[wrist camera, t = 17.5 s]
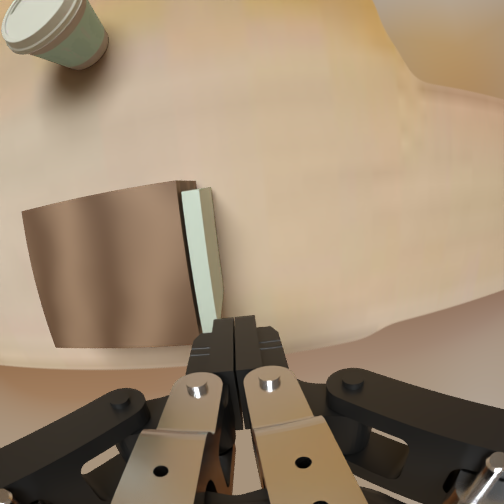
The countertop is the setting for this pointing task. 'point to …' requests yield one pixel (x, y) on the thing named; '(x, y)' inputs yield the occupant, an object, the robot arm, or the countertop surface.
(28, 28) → the coffee cup
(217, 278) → the pullout shelf
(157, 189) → the small wooden cabinet
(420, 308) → the countertop surface
